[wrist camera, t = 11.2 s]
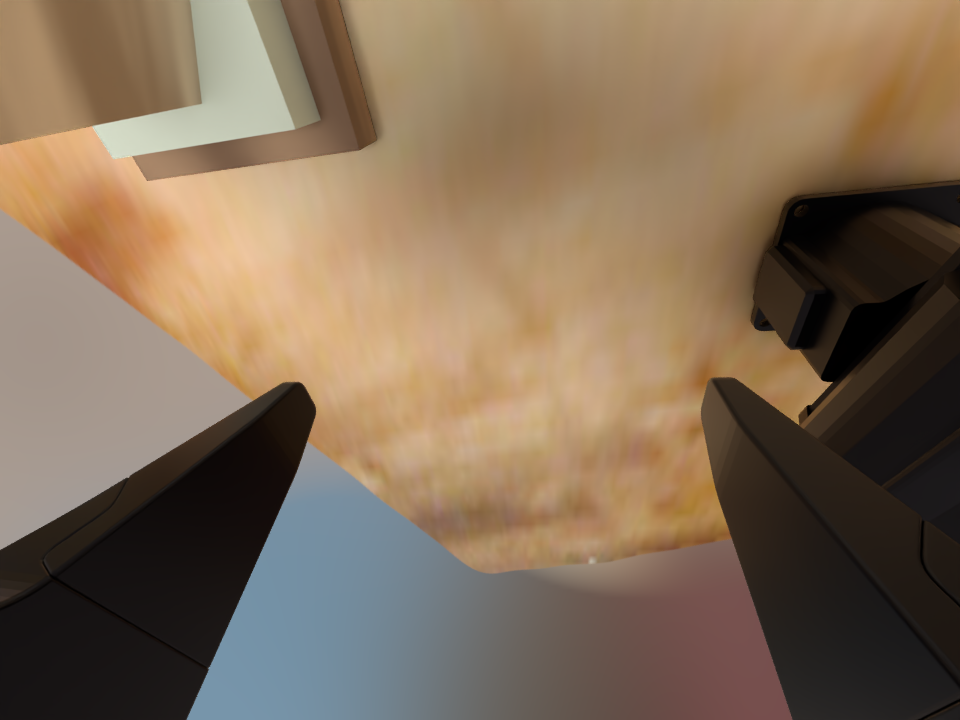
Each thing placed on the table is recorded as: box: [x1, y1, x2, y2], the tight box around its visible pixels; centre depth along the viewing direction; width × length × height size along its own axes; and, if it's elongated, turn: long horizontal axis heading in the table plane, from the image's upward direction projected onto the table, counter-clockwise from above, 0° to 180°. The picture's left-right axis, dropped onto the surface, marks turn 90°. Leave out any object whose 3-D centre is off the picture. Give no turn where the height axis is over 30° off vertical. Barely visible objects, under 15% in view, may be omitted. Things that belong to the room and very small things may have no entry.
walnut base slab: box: [132, 0, 377, 181], centre depth 15 cm, size 11×11×2 cm
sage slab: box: [92, 0, 321, 159], centre depth 14 cm, size 8×8×2 cm
